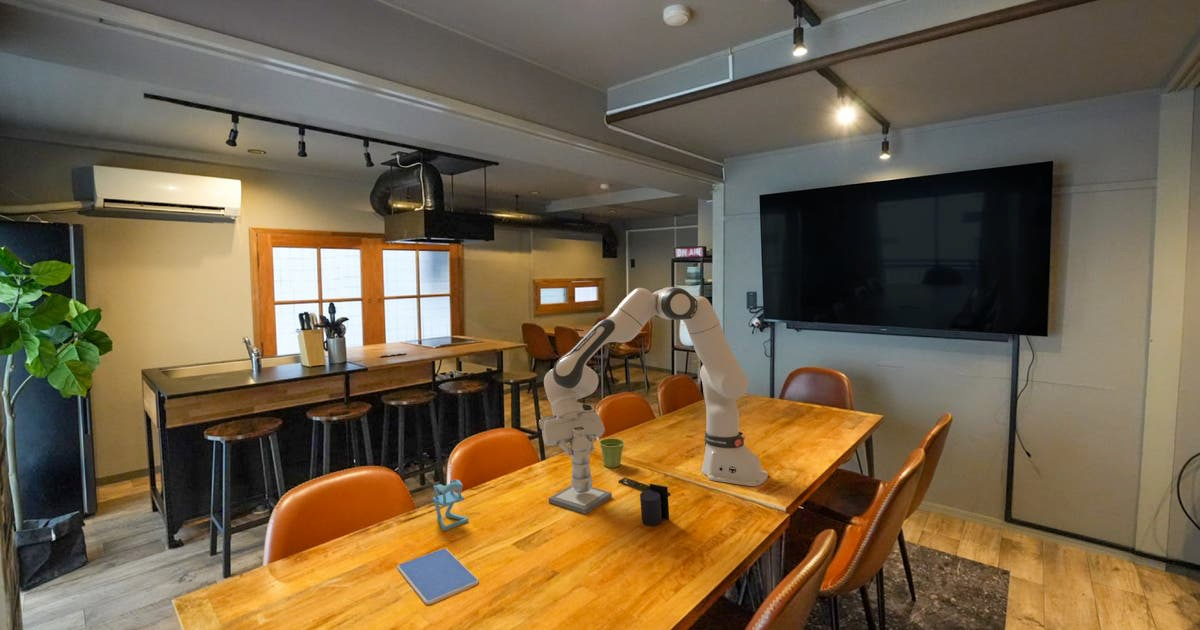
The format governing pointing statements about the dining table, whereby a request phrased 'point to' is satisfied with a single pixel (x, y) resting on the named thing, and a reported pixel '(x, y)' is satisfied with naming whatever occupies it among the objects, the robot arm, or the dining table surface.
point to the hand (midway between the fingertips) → (581, 452)
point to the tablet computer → (437, 576)
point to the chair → (448, 502)
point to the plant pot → (612, 451)
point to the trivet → (580, 499)
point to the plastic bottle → (580, 461)
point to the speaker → (654, 505)
